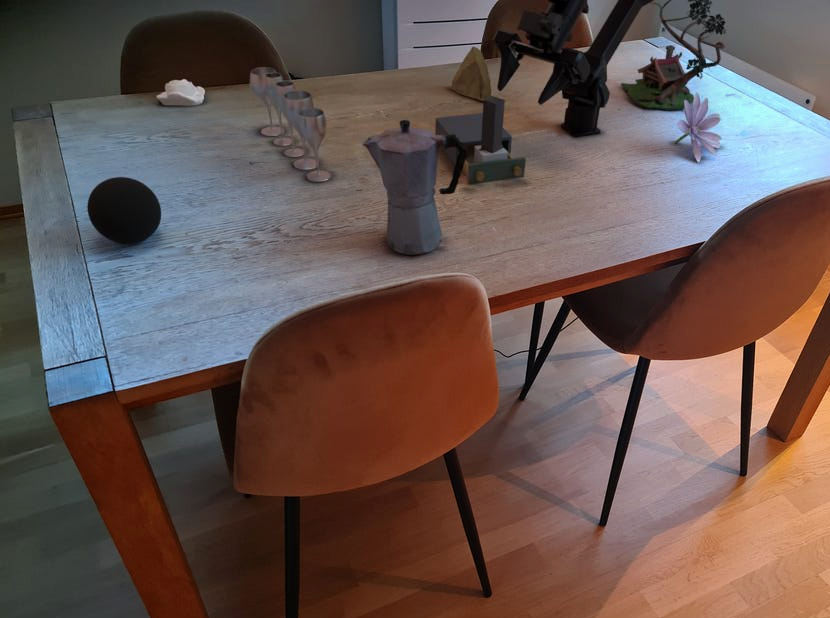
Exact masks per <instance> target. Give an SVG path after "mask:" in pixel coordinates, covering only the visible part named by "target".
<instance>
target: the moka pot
mask: <svg viewBox="0 0 830 618" xmlns="http://www.w3.org/2000/svg"><path fill="white" fill-rule="evenodd" d="M410 121H411V120H408V119H403V120H400V121H399V123H398V124H399V127H397V128H392V129H387V130H384V131H383V132H381V133H380V134H376V135H371V136H368V138H366V139H365V140H363V142H362V147H365V148H366V149H367V151H368V152H369V154H370V156H371V157H372V159H373V161H374V163H375V164H376V166H377V168H378V169H379V172H380V175H381V178H382V179H381V180H382V184H383V187H384V189H385V190H386V196H387V222H386V224H387V225H386V242H387V245H388V246H389V248H390V249H391V250H392V251H394V252H397V253H399V254H401V255H402V254H403V255H407V256H411V255H423V254H427V253H429V252H432V251H434V250H435V249H437V248H438V247H440V245H441V243H442V242H443V239H441V238H442V236H443V233H442V228H441V223H440V219H439V214H438V208H437V204H436V199H435V194H436V189H435V186H436V184H437V171H438V162H439V161H438V160H439V150H442V149H447V148H450V147H456V148H457V149H458V150H459V154H458V156H457V161H456V164H455V166H454V168H453V171H452V176H451V177H452V178H451V181H450V183H449V184H448V187H440V188H439V189H438V192H439V194H440V195H452V194H454V193H455V192H456V189H457V186H458V184H459V180H460V177H461V175H462V172H463V170H462V169H463V166H464V162H465V159H467V153H468V151H467V148H466V147H465V146H464V145H463V143H462V142H460V141H459V139H458V138H457V137H456V135H455V134H452V135H447V136H445V135H435V134H434V133H433V132H432V131H431V130H430V129H424V128H418V127H412V126H410V125H411V122H410Z"/></svg>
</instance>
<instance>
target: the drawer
mask: <svg viewBox="0 0 830 618" xmlns="http://www.w3.org/2000/svg"><path fill="white" fill-rule="evenodd" d="M480 145H481V143H478V144H470V145H464V146H465V147H466V148H467V151H468V153H467V159H465V162H464V166H463V169H462V172H463V173H464V175H465V176H467V184H468V185H475V184H484V183H489V182H490V183H491V182H498V181H505V180H506V181H507V180H513V179H518V178H519V179H520V178H525V172H526V171H525V170H526V163H527V158H526V157H525V156H521V157H513V156H512V154H509V152H508V151H507V150H506V149H505V148H504V149H505V150H506V151H507V152H508V154H507V159H503V160H495V161H488V162H480V163H474V151H475V146H480Z"/></svg>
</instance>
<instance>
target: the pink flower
mask: <svg viewBox="0 0 830 618" xmlns="http://www.w3.org/2000/svg"><path fill="white" fill-rule="evenodd" d="M693 97H694V100H693V102H692V103H691V104H689V102H688V101H687V100H684V109H683V110H684V117H685V119H686V120H684V119H679V120H678V121H677V123H676V126H677V128H678V129H679V131H681V133H683V135H681V136H680V137H679V138H677V139H676V140H675V141H674V144H675V145H677V144H678V143H680V142H681V141H682V140H683V139H685V138H686V137H688V136H689V137H690V146H691V150H692V154H693V156H694V159H695V160H696V162H697V163H700V161H701V159H702V149H701V146H702V148H704V149H705V150H706V151H707V152H709V153H710V154H712V155H713V156H715V157H717V156H718V154H717V150H716V149H720V148H721V146H720V145H721V143H720V141H722V140H723V138H722V137H721V135H719V134H718V133H715V132H711V131H709V130H710V129H712V128H714V127H716V126H717V125H719V123H721V120H722V119H721V117H720V113H716V112H715V113H711V114H708V115H707V113H708V110H709V98H708V97H705V98H704V99H703V100H702V101H701V97H700V94H699V93H698V91H697V92H695V94H694V96H693ZM700 145H701V146H700Z"/></svg>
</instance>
